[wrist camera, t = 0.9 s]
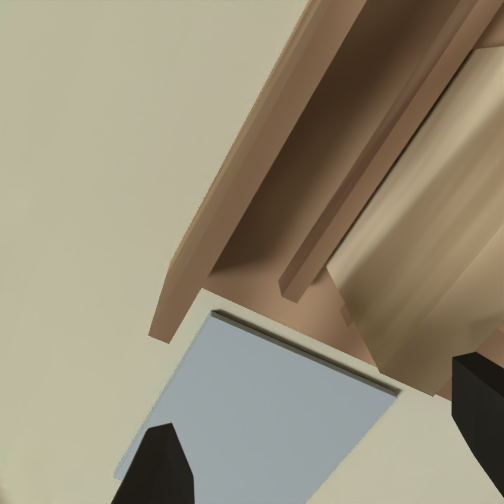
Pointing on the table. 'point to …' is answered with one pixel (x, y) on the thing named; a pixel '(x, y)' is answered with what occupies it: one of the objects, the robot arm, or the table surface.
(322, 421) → the slate mat
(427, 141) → the plywood sheet
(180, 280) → the walnut rack
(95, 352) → the table surface
